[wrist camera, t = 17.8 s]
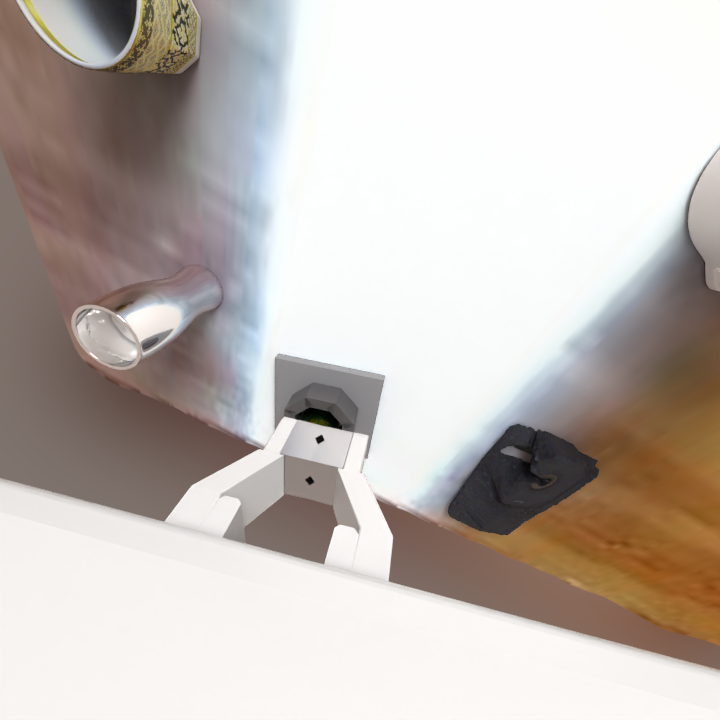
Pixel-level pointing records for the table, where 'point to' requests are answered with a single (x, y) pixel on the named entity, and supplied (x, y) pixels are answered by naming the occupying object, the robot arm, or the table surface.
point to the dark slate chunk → (521, 481)
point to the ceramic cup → (119, 33)
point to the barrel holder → (327, 393)
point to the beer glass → (144, 316)
